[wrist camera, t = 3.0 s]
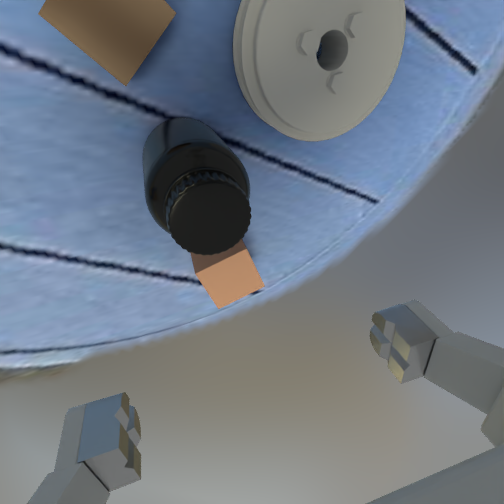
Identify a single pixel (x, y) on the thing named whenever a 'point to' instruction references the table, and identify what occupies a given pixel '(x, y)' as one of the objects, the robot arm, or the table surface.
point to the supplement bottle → (196, 186)
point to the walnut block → (111, 29)
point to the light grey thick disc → (308, 68)
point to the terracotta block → (227, 274)
